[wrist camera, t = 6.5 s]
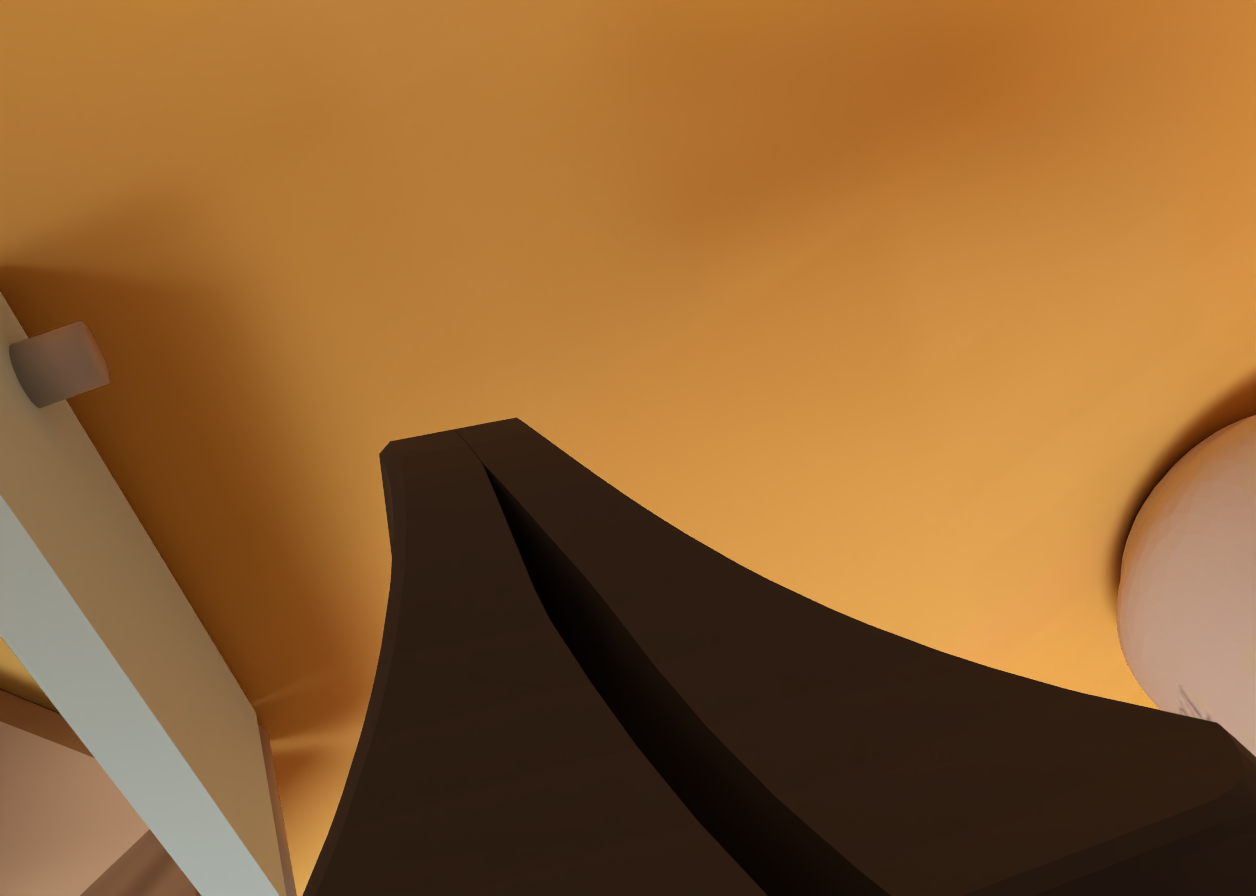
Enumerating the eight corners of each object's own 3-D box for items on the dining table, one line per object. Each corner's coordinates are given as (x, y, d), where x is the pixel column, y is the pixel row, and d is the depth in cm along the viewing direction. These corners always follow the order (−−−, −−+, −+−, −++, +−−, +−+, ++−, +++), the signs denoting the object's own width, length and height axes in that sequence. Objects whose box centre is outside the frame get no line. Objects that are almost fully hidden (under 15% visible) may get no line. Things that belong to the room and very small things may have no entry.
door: (321, 726, 24) (365, 916, 20) (229, 765, 24) (256, 966, 20) (56, 250, 17) (48, 408, 13) (-81, 295, 17) (-128, 470, 13)
